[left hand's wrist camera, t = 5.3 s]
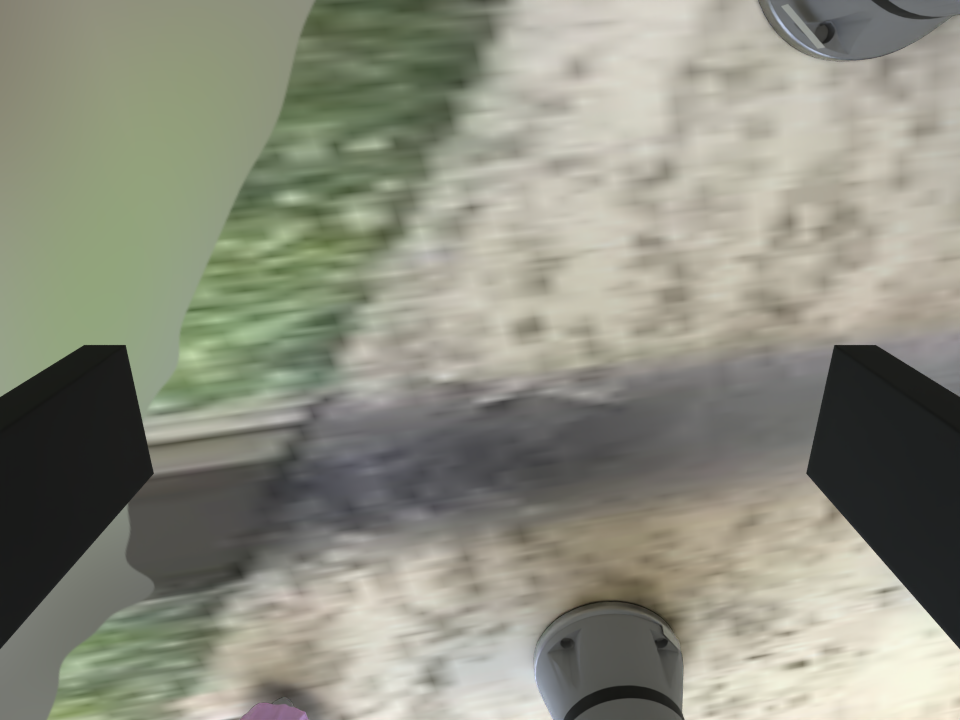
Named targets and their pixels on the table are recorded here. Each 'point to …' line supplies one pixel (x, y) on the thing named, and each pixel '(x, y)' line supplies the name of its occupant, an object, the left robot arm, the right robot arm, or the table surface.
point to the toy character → (275, 711)
